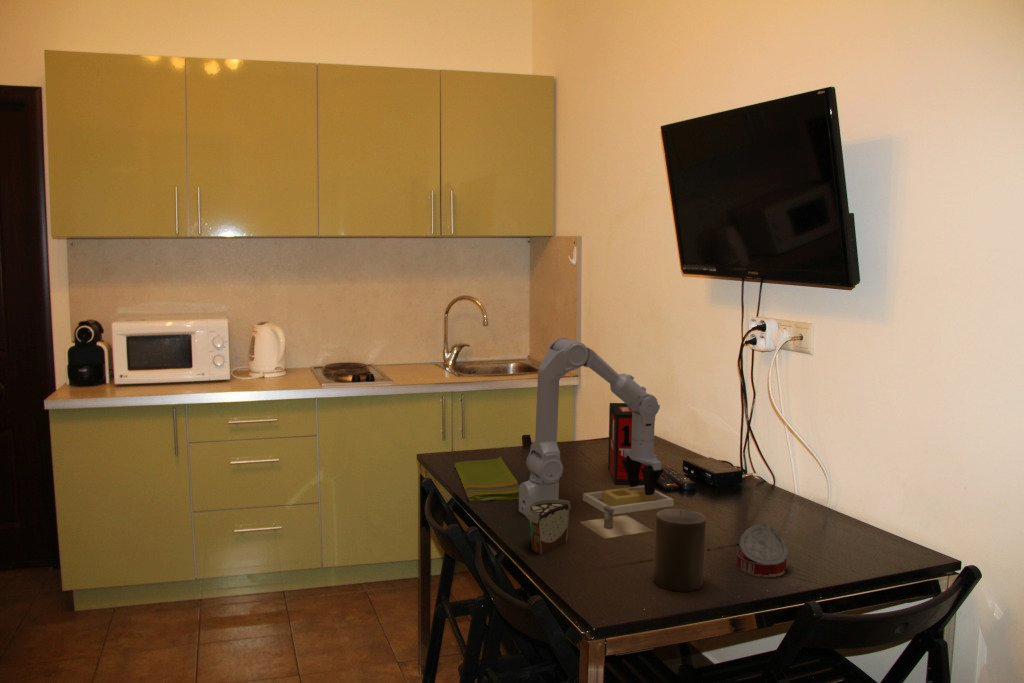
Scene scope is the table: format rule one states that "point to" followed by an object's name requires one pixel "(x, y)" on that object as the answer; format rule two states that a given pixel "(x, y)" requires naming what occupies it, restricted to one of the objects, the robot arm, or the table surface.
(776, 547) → the canned food
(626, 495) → the tabbed collar
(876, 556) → the table surface
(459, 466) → the dish towel
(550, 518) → the food container
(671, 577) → the pillar candle
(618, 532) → the board
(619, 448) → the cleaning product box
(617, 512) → the tray
